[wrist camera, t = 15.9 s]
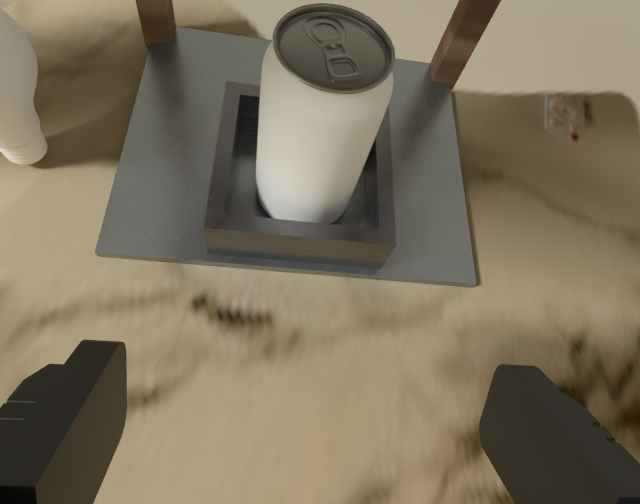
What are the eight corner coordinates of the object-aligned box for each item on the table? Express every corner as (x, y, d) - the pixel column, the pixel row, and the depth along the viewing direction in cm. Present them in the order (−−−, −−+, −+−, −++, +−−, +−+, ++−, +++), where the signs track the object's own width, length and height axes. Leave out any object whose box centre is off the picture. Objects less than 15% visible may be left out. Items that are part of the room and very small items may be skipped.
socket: (472, 287, 31) (502, 263, 27) (97, 256, 28) (76, 224, 24) (444, 71, 40) (464, 31, 36) (157, 30, 37) (148, -18, 33)
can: (330, 146, 33) (374, -8, 23) (362, 221, 31) (426, 89, 20) (243, 161, 32) (246, 1, 21) (269, 242, 29) (287, 109, 19)
